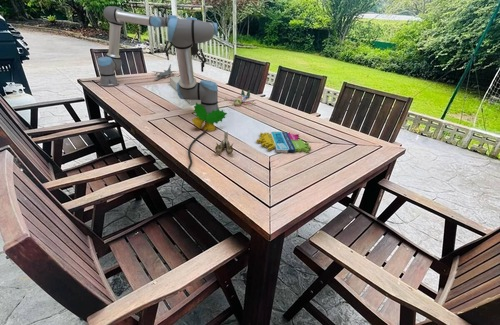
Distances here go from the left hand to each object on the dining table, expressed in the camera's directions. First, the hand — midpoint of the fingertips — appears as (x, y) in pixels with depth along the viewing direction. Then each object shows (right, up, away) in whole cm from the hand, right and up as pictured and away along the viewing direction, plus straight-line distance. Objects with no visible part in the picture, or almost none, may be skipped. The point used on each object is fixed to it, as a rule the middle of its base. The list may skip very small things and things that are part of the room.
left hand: (175, 60), depth 244 cm
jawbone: (+56, -90, -106) cm, 150 cm away
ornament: (+44, -75, -79) cm, 118 cm away
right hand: (+27, -26, -44) cm, 57 cm away
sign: (+88, -85, -92) cm, 153 cm away
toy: (+63, -45, -23) cm, 80 cm away
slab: (+12, -34, -11) cm, 37 cm away
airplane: (-23, -3, +39) cm, 46 cm away
